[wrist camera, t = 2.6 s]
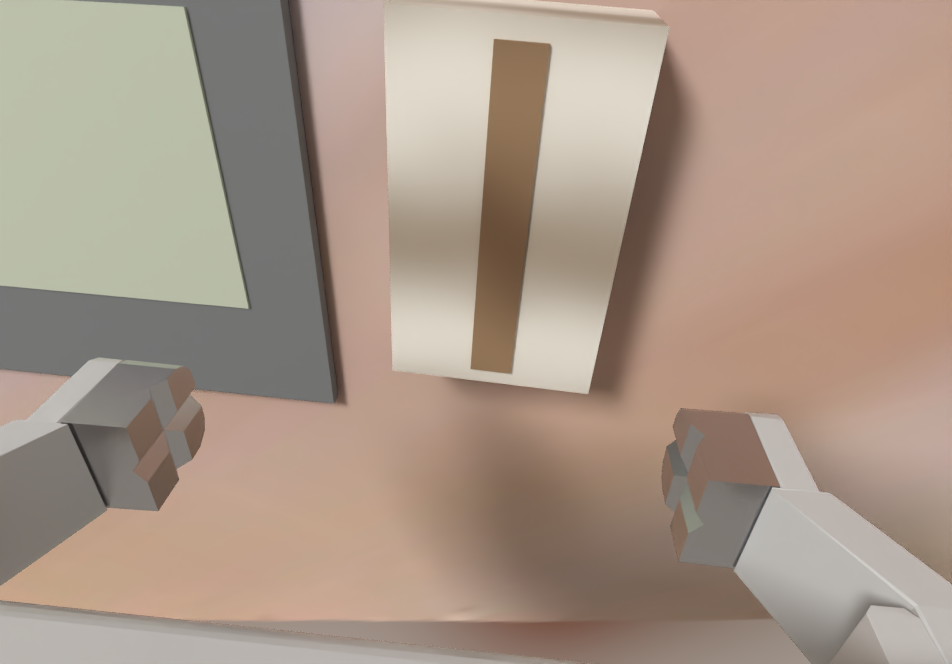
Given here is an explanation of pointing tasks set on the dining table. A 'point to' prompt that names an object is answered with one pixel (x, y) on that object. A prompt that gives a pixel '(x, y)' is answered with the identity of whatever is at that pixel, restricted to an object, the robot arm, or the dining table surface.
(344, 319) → the dining table surface
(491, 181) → the cream block
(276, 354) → the mat
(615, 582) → the dining table surface
